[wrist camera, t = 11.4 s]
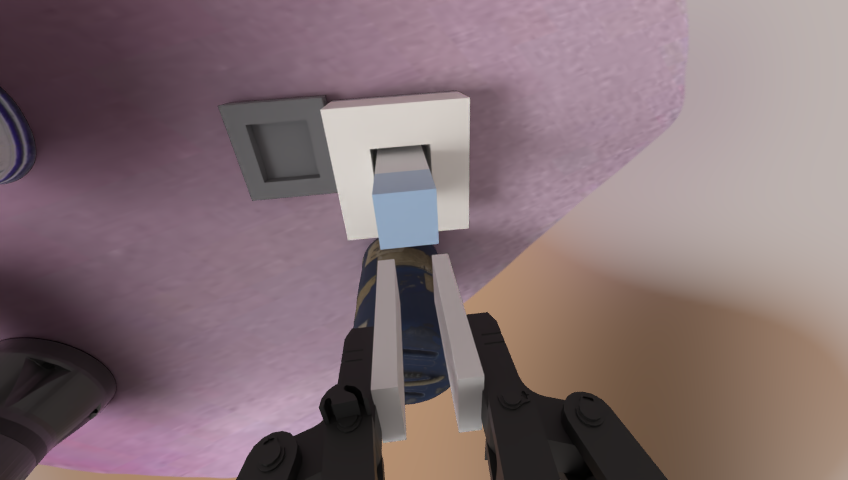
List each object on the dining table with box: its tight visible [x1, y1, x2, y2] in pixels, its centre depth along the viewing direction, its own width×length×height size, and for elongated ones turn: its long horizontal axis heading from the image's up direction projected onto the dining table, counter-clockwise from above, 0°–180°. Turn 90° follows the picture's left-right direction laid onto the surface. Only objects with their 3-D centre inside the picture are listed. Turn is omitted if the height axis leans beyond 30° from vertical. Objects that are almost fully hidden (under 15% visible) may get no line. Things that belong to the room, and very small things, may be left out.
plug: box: [372, 145, 439, 250], centre depth 27 cm, size 4×4×14 cm
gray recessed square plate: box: [218, 95, 338, 201], centre depth 31 cm, size 9×9×2 cm
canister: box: [353, 238, 450, 405], centre depth 32 cm, size 10×10×18 cm
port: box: [320, 91, 470, 240], centre depth 31 cm, size 12×12×6 cm
